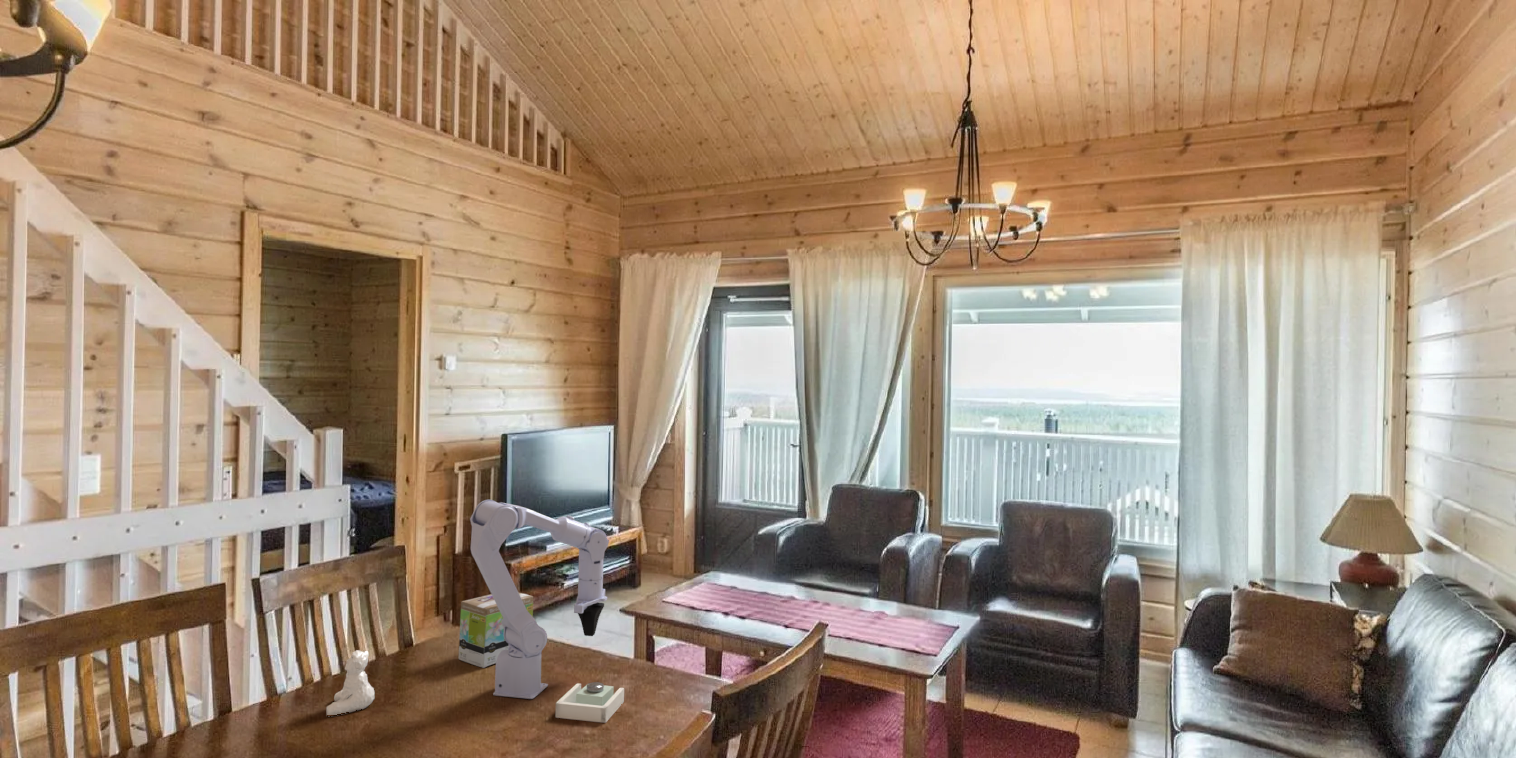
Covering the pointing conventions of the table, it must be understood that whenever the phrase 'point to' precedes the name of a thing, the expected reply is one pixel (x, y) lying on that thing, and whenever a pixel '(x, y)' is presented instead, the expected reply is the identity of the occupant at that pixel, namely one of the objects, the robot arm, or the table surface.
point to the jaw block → (595, 694)
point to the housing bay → (587, 707)
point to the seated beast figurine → (353, 687)
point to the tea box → (484, 630)
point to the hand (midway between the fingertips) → (589, 635)
